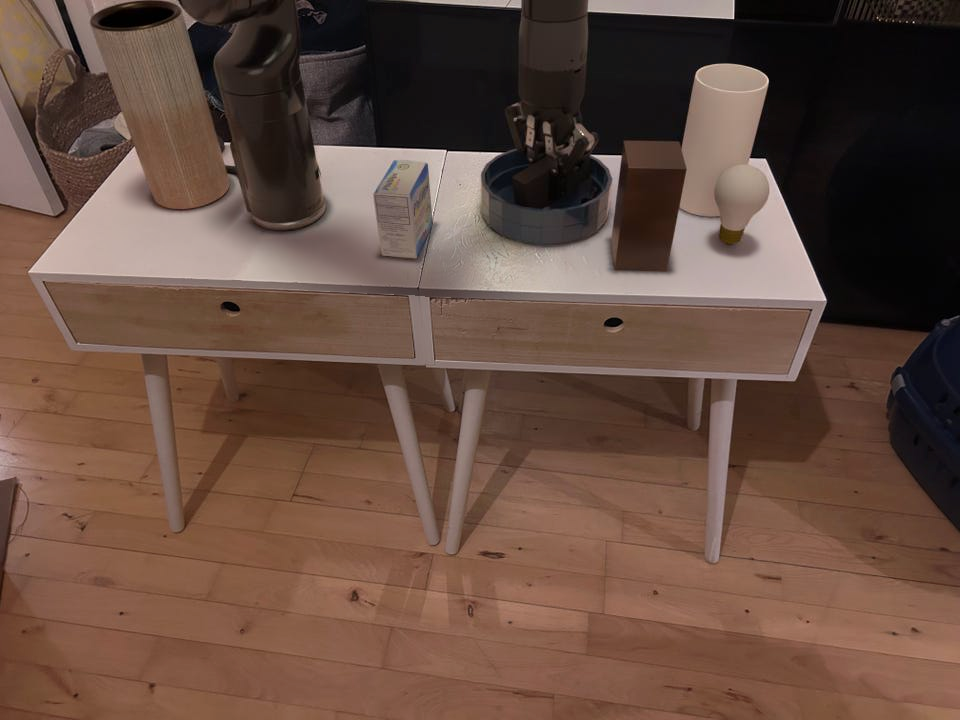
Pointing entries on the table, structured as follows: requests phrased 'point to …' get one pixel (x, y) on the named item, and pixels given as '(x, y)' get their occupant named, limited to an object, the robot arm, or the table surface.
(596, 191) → the chess pawn
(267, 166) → the robot arm
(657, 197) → the stand
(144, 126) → the planter
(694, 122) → the cup
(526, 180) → the dark brown flat block
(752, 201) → the light bulb
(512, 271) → the table surface
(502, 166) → the bowl
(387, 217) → the medicine box
